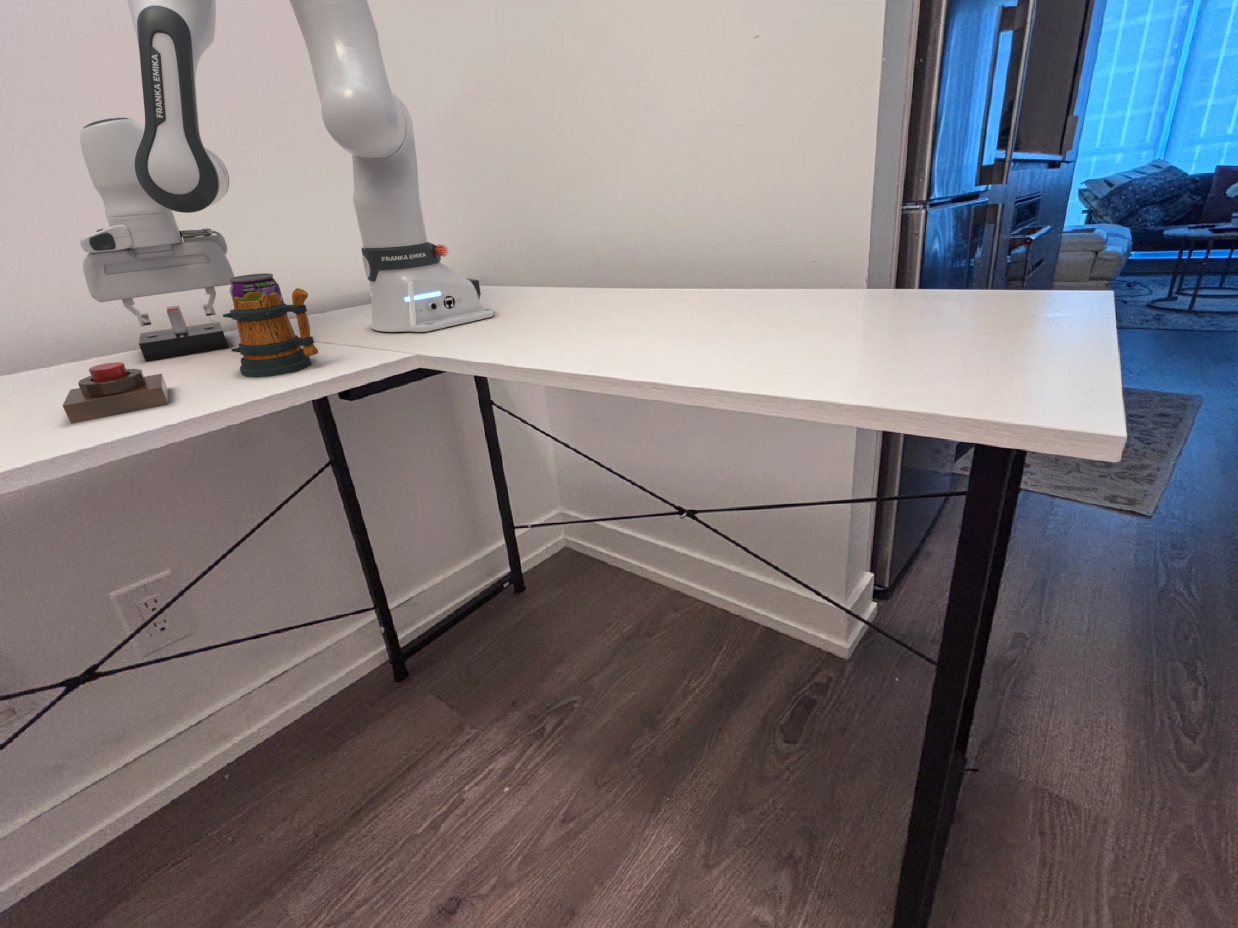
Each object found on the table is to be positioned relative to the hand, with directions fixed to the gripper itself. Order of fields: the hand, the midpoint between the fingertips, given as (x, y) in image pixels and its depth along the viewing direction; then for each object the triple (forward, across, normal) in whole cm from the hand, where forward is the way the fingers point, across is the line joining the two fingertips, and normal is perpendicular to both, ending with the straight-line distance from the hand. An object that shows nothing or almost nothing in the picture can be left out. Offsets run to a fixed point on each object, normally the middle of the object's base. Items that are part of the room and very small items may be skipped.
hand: (179, 319), depth 106 cm
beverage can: (+6, -12, +13) cm, 18 cm away
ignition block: (+5, +9, +31) cm, 32 cm away
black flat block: (+5, 0, 0) cm, 5 cm away
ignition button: (+2, +9, +31) cm, 32 cm away
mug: (+6, -11, +27) cm, 30 cm away
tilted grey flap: (+2, 0, 0) cm, 2 cm away
